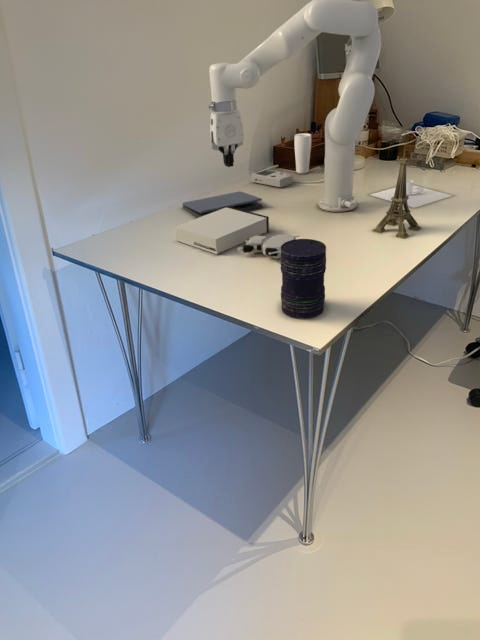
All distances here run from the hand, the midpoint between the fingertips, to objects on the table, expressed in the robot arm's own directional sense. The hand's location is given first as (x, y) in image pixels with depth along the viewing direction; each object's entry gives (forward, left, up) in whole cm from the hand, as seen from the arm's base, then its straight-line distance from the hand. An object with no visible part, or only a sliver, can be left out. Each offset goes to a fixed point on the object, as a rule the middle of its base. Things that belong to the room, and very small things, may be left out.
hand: (229, 165), depth 177 cm
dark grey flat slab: (+5, +1, -15) cm, 16 cm away
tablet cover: (+5, +1, -13) cm, 14 cm away
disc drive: (-20, +13, -16) cm, 29 cm away
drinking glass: (+27, -47, -16) cm, 56 cm away
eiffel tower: (-45, -33, -16) cm, 58 cm away
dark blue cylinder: (-71, +18, -16) cm, 75 cm away
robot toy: (-39, +8, -16) cm, 43 cm away
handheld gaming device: (+21, -29, -16) cm, 39 cm away
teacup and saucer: (-22, -60, -16) cm, 66 cm away
